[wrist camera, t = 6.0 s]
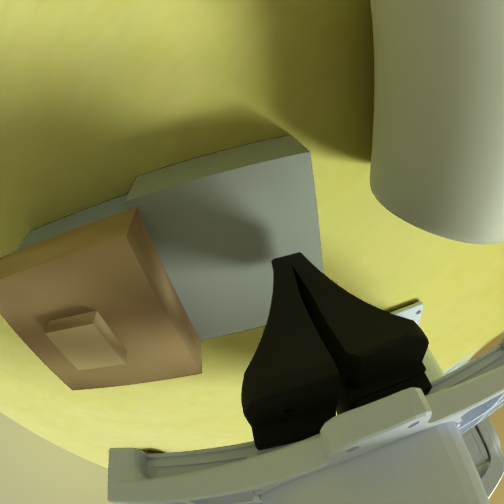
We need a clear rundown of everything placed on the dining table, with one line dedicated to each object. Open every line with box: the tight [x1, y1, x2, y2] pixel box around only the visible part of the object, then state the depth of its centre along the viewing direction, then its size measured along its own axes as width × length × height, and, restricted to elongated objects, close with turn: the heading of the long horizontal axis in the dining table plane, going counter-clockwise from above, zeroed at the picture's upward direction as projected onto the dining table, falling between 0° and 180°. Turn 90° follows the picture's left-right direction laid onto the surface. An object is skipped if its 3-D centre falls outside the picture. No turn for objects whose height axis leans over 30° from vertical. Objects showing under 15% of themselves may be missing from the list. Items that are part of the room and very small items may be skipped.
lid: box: [0, 207, 202, 390], centre depth 14 cm, size 9×9×3 cm
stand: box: [125, 135, 323, 341], centre depth 16 cm, size 10×8×3 cm
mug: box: [370, 0, 504, 244], centre depth 11 cm, size 12×8×11 cm
